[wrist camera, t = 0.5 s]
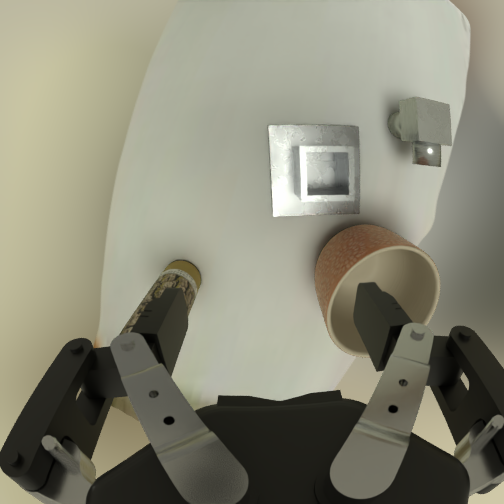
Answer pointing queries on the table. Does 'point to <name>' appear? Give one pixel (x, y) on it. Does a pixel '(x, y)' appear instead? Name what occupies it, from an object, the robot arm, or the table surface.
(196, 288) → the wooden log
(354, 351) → the planter
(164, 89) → the table surface
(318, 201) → the duct socket
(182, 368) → the table surface
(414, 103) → the silver block with cylinder
